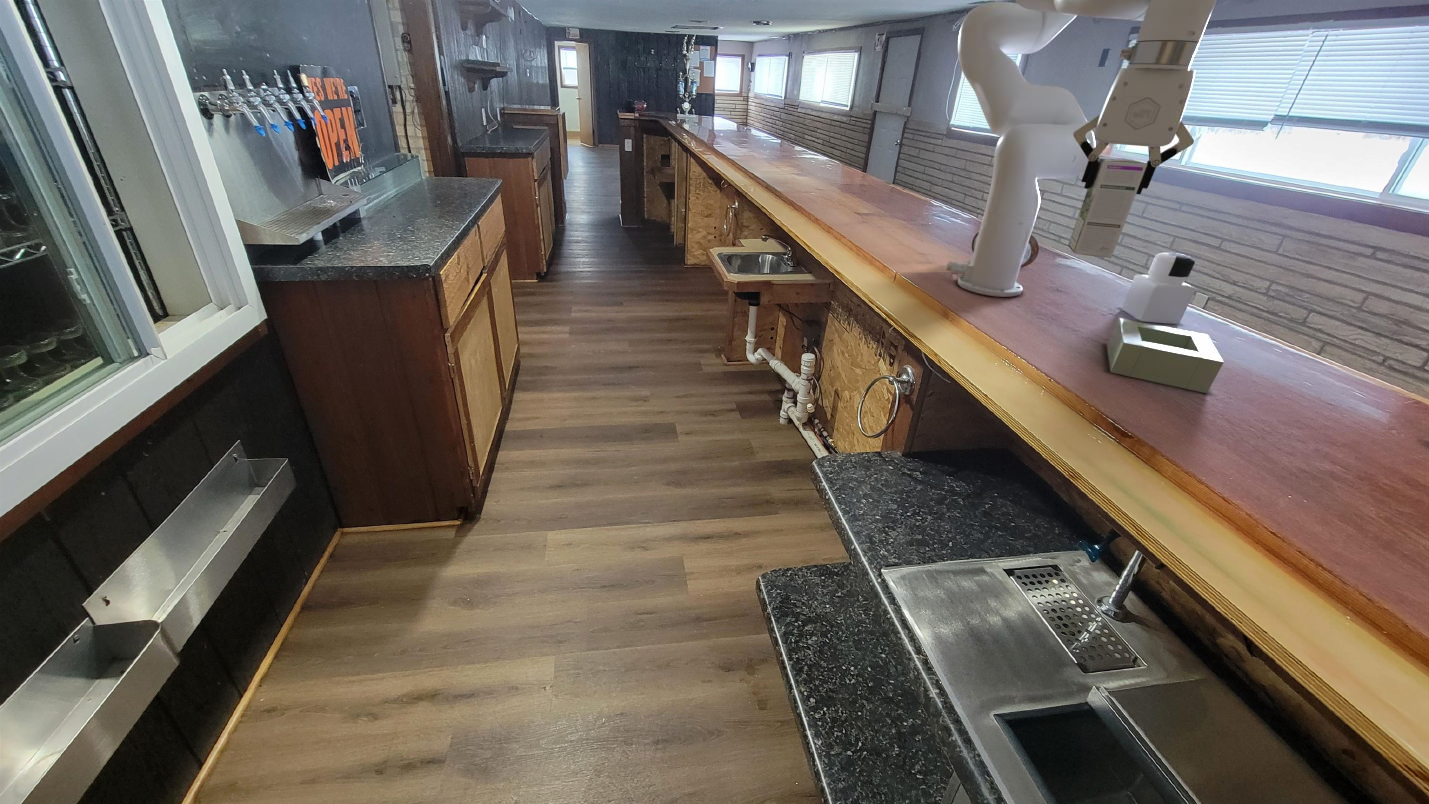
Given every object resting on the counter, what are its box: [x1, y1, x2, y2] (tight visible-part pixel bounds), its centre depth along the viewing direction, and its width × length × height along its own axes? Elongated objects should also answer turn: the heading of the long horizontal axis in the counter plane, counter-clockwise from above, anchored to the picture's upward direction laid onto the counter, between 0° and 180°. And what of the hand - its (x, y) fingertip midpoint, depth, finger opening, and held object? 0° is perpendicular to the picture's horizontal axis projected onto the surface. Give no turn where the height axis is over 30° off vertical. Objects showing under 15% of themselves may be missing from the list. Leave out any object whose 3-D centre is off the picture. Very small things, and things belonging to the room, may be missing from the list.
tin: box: [971, 231, 1040, 269], centre depth 135 cm, size 15×3×8 cm, turn 43°
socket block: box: [1106, 317, 1225, 394], centre depth 87 cm, size 12×12×5 cm
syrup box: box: [1067, 156, 1147, 259], centre depth 91 cm, size 6×6×14 cm
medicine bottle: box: [1120, 251, 1196, 325], centre depth 106 cm, size 7×7×12 cm
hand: (1111, 189), depth 89 cm, fingers closed on syrup box, 6 cm apart
